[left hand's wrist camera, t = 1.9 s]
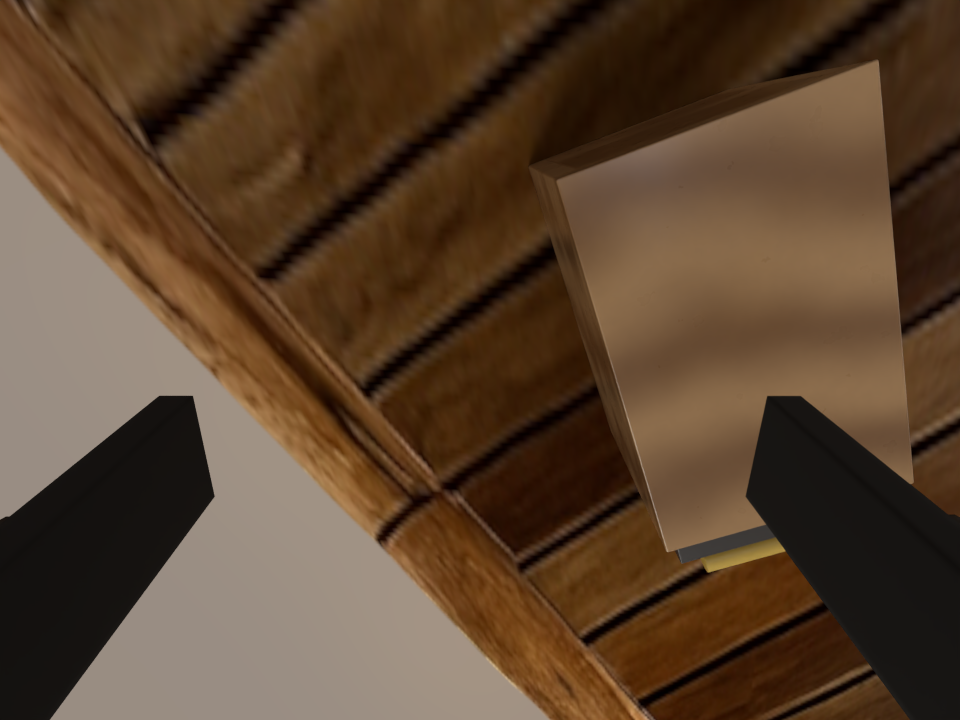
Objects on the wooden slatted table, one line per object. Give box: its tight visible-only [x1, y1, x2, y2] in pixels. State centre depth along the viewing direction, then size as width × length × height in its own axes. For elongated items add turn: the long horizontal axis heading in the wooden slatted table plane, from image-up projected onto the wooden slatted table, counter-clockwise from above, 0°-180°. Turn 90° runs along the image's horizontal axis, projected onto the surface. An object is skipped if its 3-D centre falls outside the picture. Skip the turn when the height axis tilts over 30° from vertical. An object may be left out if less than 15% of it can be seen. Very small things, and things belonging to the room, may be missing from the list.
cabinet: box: [529, 60, 914, 552], centre depth 26 cm, size 17×11×11 cm, turn 20°
